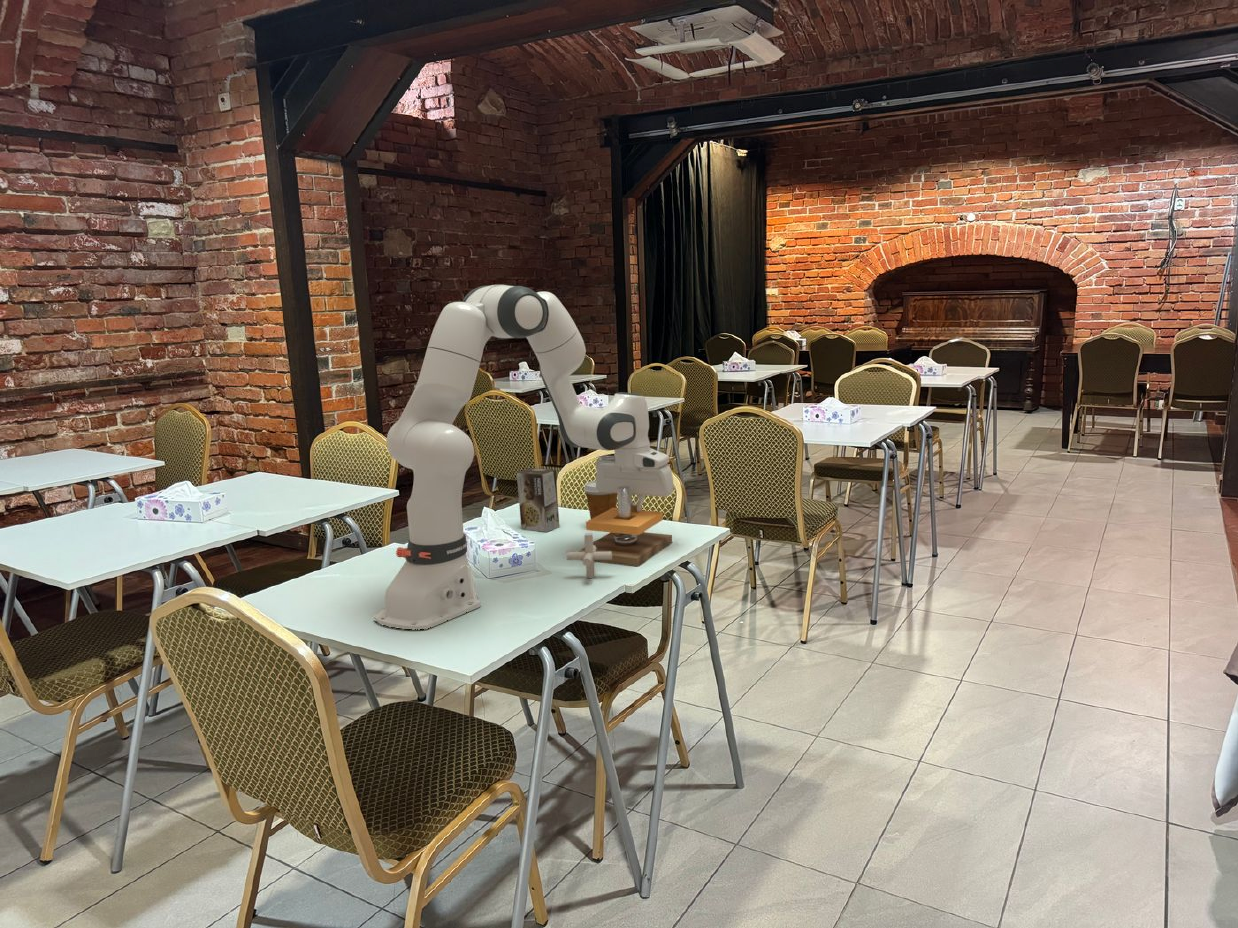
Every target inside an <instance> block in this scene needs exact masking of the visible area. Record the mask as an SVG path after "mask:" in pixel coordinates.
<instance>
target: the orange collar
mask: <svg viewBox="0 0 1238 928" xmlns="http://www.w3.org/2000/svg"><path fill="white" fill-rule="evenodd" d="M663 515H664V513H663V511H655V510H643V509H642V510H641V511H640V512H634V511H631V519H630V520H622V519H619V513H618V507H616V508H611V509H609V510H608V511H606V512H604V513H602V514H600V515H598V516H596V517H594V518H592V519H591V518H590V519H589V520H587V521H585V529H586V531H591V532H593V531H594V532H604V533H610V532H612V533H622V534H632V535H640V534H641V533H643V532H647V531H648V530H650V529H651V528H652V527H653V526H656V525H657V524H658V523H661V522H662V521H663V520H664V517H663Z"/></svg>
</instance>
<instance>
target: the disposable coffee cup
mask: <svg viewBox="0 0 1238 928" xmlns="http://www.w3.org/2000/svg"><path fill="white" fill-rule="evenodd" d="M584 486H585V487H584V488H583V490H584V493H585V495H586V499H587V505H588V506H587V507H588V512H589V518H590V520H591V519H592V518H594V517H596V516H598V515H600V514H602V513H604V512H606V511H608V510H609V509H611V508H617V506H618V493H607V492H599V491H598V490H597V489H596V480H592V481H588V482H586V483H585V485H584Z"/></svg>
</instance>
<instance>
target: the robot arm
mask: <svg viewBox="0 0 1238 928" xmlns="http://www.w3.org/2000/svg"><path fill="white" fill-rule="evenodd" d="M431 332H432V333H431V335H430V338H429V341H428V345H427V348H426V351H425V356H424V358H423V363H422V364H421V365H422V366H421V369H420V372H419V376H418V380H417V382H416V384H415V387H414V389H413V391H412V394H411V395H410V398H409V400H408V402H407V404H406V406H405V408H404V409H403V411H402V413H401V415H400V417H399V418H398V420H397V421H396V422H394V424H393V425H392V426H391V427H390V429H389V431H388V432H387V435H386V447H387V450H388V452H389V454H390V455H391V457H393V459H394V460H395V461H396V462H397V463H398V464H399V465H401V466H403V467H405V468H406V469H410V470H412V473H413V485H412V490H411V495H410V498H409V499H408V501H407V504H406V511H407V512H406V513H407V522H408V524H407V525H408V533H409V539H408V541H407V542H408V543H407V547H405V548H404V547H400V546H398V547H397V548H396V551H395V555H396V557H397V558H404V559H405V562H404V564H403V565H402V566H401V568H400V570H399V571H398V573H397V574H396V575H395V577H394V578H393V580H392V581H391V582H390V583H389V585H388V586H387V588H386V590H385V595H384V608H382V609H381V610H380V611H379V612H377V613H376V614H375V615H373V620H374V619H375V620H376V621H377V622H378V623H380V624H383V625H386V626H390V627H389V628H391V627H398V628H403V629H402V630H404V629H412V630H411V631H419V630H420V629H424V630H428V628H429V629H431V628H433V627H435V626H438V625H440V624H443V623H445V622H448V621H450V620H453V619H455V618H457V617H459V616H460V617H461V616H462V615H465V614H466V612H467V613H469V612H471V611H474V610H476V609H478V608H480V607H481V606H482V605H481V601H480V600H479V599H478V596H477V594H476V593H477V592H476V588H475V582H474V577H473V573H472V568H471V566H470V563H469V561H468V558H467V553H468V541H467V536H466V534H465V532H464V523H463V522H464V521H463V506H462V498H463V497H462V496H463V488H464V482H465V476H466V473H467V471H468V469H469V468H470V467H471V465H472V463H473V460H474V457H475V448H474V447H475V446H474V444H473V442H472V439H471V438H470V437H469V435H468V434H467V433H466V432H464V431H463V430H462V429H460V428H459V427H457V426H455V425H453V423H454V421H455V419H456V418H457V416H458V414H459V412H461V410H462V409H463V408H464V406H466V405H467V403H469V401H470V399H471V397H472V393H473V391H474V387H475V383H476V379H477V376H478V372H479V370H480V369H479V367H480V365H481V361H482V357H483V355H484V354H483V352H484V348H485V346H486V344H487V343H488V341H489V340H490V339H491V338H492V337H495V338H497V339H527V341H528V344H529V345H530V347H531V349H532V351H533V352H534V354H535V356H536V358H537V361H538V363H539V373H540V376H541V377H540V378H541V380H542V383H543V385H544V387H545V390H546V392H547V394H548V396H549V399H550V401H551V403H552V406H553V408H554V411H555V412H556V416H557V420H558V425H559V430H560V434H561V436H562V439H563V440H564V442H565V443H566V444H567V445H568V446H570V447H572V448H580V449H581V448H582V449H583V448H585V449H586V448H587V449H593V450H601V451H607V452H608V451H614V452H613V453H614V455H600V456H599V457H598V458H597V459H596V460H595V469H596V476H595V481H596V489H597V490H598V491H599V492H607V493H617V494H618V492H617V488H618V487H622V486H627V487H630V507H631V511H634V512H640V511H641V510H643V509H642V508H643V507H642V504H643V502H644V501H645V499H646V497H647V496H649V497H663V498H667V497H669V496H670V495H672V493H673V491H674V478H673V471H672V469H671V467H670V466H669V465H668V463H669V462H670V457H669V455H668V454H666V453H663V452H661V451H658V450H655V449H653V448H651V443H650V439H649V429H650V419H649V409H648V403H647V399H646V398H645V396H644V395H642V394H641V393H633V392H624V391H621V392H616V393H614V394H613V395H614V396H613V398H612V399H611V401H610V402H609V403H608V404H607V405H605V406H604V407H602V408H600V409H599V408H589V406H585V404H583V403H582V402H580V400H579V397H578V395H577V393H576V391H575V388H574V385H573V383H572V381H571V378H570V376H571V375H572V374H573V373H574V372H576V371H577V369H579V368H580V366H582V364H583V362H584V359H585V357H586V352H587V349H586V345H585V341H584V339H583V337H582V335H581V333H580V330H579V329H578V326H576V323H575V321H574V320H573V318H572V316H571V315H570V313H569V312H568V310H567V309H566V307H565V306H564V305H563V304H562V301H560V299H559V298H558V297H557V296H556V295H555V294H553V293H552V292H550V291H538V292H536V291H534V290H533V289H532V288H529V287H526V286H522V285H507V284H492V285H481V286H478V287H475V288H472V290H470V291H469V292H468V293H467V294H466V295H465V296H464V298H463V299H462V301H455V302H454V301H453V302H450V303H448V304H446V305H445V306H444V307H443V309H442V311H441V312H440V314H439V316H438V318H437V320H436V322H435V325H434V327H433V330H432V331H431ZM635 495H636V499H637V502H635V503H634V502H633V499H632V497H633V496H635ZM447 620H448V621H447ZM378 623H377V624H378ZM380 624H379V625H380ZM383 625H382V626H383ZM386 626H385V627H386ZM430 627H431V628H430ZM415 629H416V630H415ZM417 629H418V630H417ZM420 631H421V630H420Z"/></svg>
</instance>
